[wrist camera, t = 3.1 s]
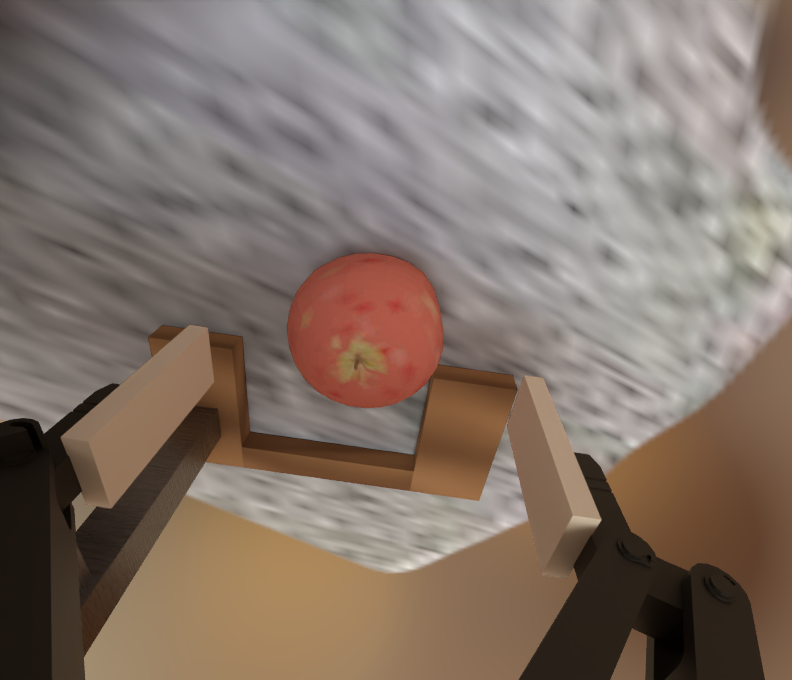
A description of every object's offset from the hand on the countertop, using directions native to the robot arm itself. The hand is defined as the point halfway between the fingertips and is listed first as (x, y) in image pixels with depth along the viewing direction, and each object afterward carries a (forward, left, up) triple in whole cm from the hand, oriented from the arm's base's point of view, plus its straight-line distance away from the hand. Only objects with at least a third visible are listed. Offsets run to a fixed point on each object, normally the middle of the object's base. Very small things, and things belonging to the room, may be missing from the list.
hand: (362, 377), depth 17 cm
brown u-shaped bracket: (+9, -2, -7) cm, 12 cm away
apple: (0, 0, -8) cm, 8 cm away
